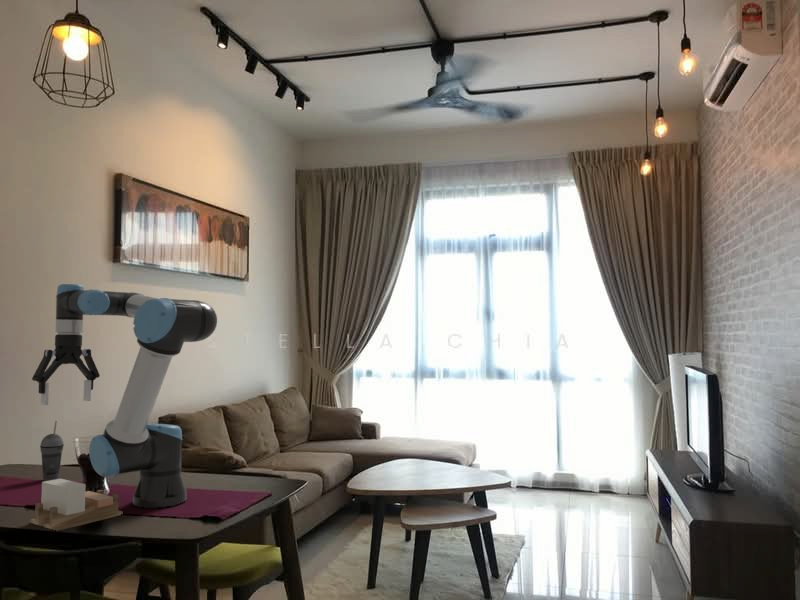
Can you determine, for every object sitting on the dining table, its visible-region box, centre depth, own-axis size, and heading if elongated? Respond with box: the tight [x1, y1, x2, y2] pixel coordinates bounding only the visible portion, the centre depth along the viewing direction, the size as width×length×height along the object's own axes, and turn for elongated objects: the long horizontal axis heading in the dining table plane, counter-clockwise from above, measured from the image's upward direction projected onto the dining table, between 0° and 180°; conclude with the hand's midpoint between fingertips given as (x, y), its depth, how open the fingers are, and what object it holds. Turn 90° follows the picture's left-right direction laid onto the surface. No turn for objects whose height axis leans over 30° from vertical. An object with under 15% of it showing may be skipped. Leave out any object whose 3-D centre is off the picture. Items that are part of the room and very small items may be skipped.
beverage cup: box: [39, 420, 65, 482], centre depth 222 cm, size 7×7×20 cm
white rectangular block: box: [40, 478, 87, 515], centre depth 172 cm, size 12×5×7 cm, turn 58°
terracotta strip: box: [85, 490, 113, 508], centre depth 179 cm, size 12×4×2 cm, turn 57°
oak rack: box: [30, 489, 124, 532], centre depth 175 cm, size 13×18×5 cm
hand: (66, 402), depth 199 cm, fingers open, 13 cm apart
